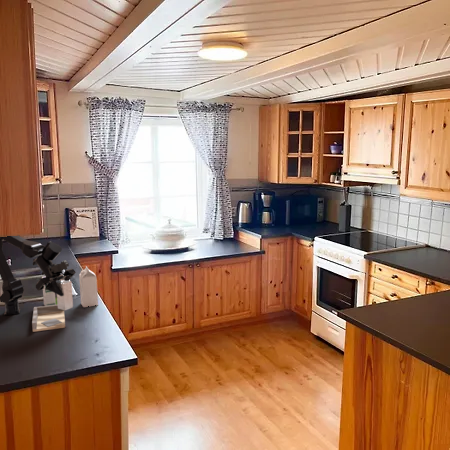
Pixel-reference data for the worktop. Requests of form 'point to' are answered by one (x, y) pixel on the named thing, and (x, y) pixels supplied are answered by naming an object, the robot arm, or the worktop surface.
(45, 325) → the corner arena
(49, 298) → the syrup box
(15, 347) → the worktop surface
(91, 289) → the milk carton
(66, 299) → the aluminium post
